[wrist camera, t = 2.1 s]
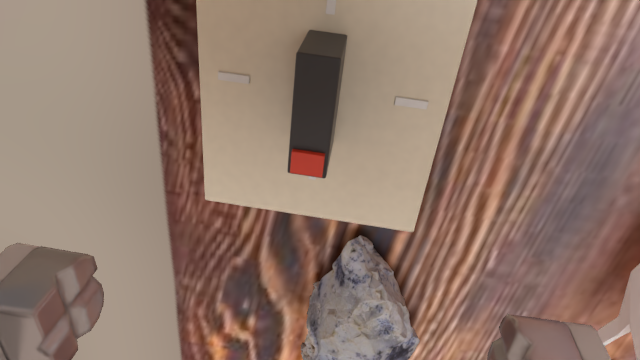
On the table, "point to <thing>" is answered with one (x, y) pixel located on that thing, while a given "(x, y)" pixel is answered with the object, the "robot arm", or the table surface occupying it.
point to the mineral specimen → (358, 310)
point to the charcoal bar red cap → (315, 102)
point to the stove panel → (353, 109)
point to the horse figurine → (626, 315)
